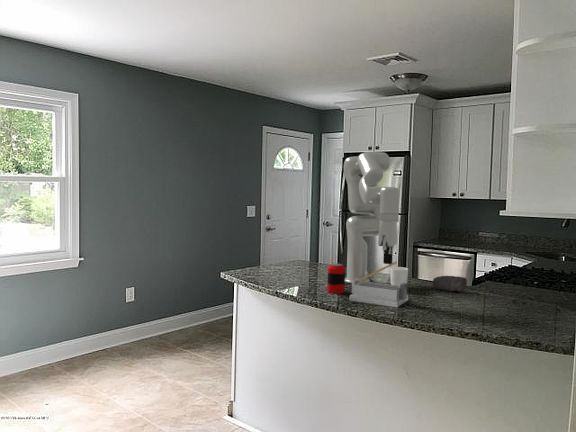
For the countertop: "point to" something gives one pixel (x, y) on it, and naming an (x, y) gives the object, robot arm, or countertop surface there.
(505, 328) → the countertop surface
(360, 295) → the heatsink
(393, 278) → the white cup
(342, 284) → the soda can
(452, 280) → the perforated stone tool
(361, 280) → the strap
